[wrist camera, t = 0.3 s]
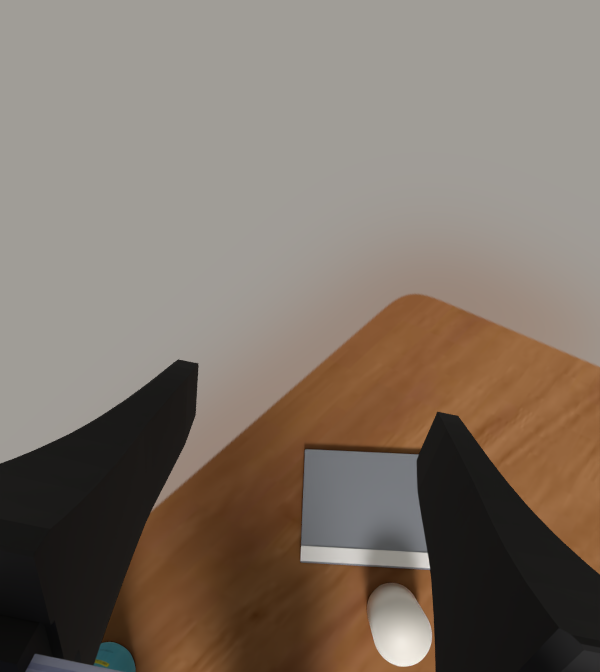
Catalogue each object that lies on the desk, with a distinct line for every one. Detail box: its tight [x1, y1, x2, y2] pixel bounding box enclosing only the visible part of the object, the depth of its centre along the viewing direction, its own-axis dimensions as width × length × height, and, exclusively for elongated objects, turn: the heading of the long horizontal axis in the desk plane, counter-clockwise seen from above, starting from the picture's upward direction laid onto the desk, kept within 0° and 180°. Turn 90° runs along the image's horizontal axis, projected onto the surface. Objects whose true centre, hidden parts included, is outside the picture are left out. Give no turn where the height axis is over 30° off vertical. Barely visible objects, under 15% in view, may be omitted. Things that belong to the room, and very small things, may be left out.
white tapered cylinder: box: [367, 583, 432, 666], centre depth 37 cm, size 4×4×4 cm
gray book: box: [300, 449, 430, 570], centre depth 40 cm, size 10×16×1 cm, turn 88°
